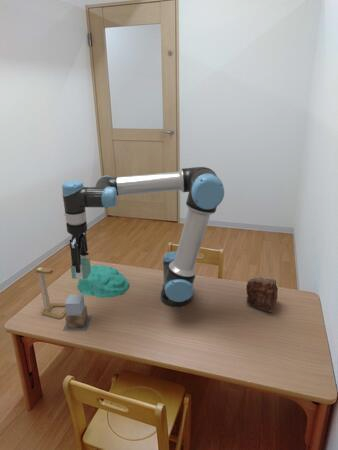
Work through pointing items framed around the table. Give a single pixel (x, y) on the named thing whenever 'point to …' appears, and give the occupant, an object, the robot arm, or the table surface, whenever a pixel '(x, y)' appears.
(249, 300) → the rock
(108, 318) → the table surface
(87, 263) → the teal block
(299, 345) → the table surface
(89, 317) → the coaster
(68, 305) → the gray block
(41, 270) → the headphone stand
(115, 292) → the decorative stone
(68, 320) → the base block
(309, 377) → the table surface
